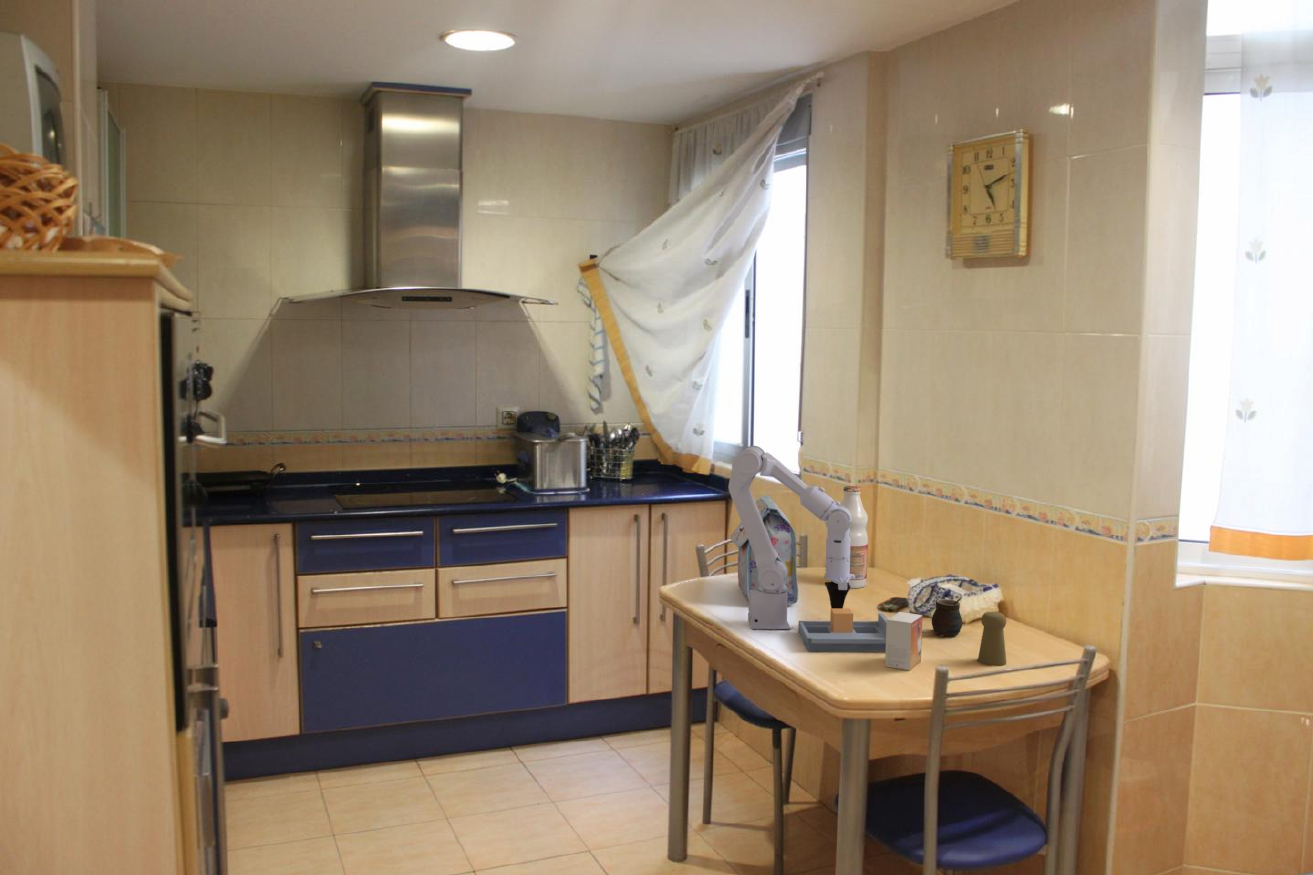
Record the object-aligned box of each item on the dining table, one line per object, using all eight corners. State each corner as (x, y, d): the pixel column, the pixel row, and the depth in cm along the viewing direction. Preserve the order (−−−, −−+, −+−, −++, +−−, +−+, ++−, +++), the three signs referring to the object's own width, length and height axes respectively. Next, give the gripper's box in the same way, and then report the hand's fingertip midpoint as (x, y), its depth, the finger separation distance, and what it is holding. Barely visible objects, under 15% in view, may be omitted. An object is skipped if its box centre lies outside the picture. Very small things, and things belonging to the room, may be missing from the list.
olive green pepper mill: (973, 657, 242) (975, 609, 241) (999, 657, 242) (1002, 608, 241) (983, 666, 236) (986, 616, 235) (1011, 665, 236) (1013, 616, 235)
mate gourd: (940, 628, 265) (943, 588, 264) (968, 635, 260) (971, 594, 259) (924, 633, 260) (926, 592, 259) (953, 641, 255) (955, 599, 254)
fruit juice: (826, 584, 308) (828, 486, 305) (846, 579, 315) (848, 483, 312) (853, 590, 302) (856, 490, 299) (873, 585, 308) (876, 487, 305)
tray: (807, 651, 245) (808, 630, 244) (798, 632, 260) (798, 612, 259) (896, 652, 245) (897, 630, 245) (881, 633, 260) (882, 612, 260)
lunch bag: (728, 586, 305) (729, 493, 302) (787, 586, 306) (789, 493, 303) (737, 607, 283) (738, 506, 280) (801, 607, 283) (803, 507, 280)
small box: (909, 671, 232) (911, 623, 231) (884, 666, 235) (885, 619, 234) (921, 661, 239) (923, 614, 237) (897, 657, 242) (898, 611, 240)
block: (833, 632, 253) (833, 613, 253) (830, 626, 258) (830, 608, 257) (852, 632, 254) (853, 613, 253) (849, 627, 258) (849, 608, 258)
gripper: (860, 563, 254) (859, 620, 255) (848, 550, 268) (847, 604, 269) (830, 563, 254) (829, 620, 255) (820, 550, 268) (819, 604, 269)
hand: (836, 612), depth 262 cm, fingers closed
